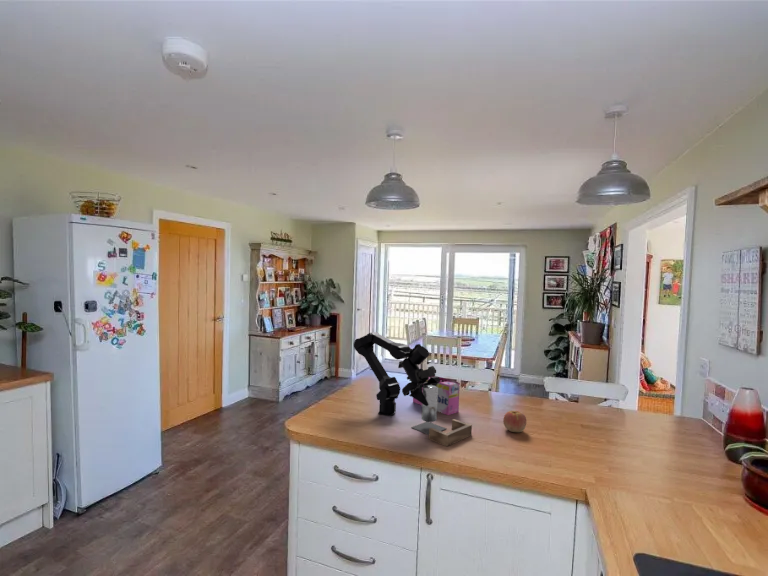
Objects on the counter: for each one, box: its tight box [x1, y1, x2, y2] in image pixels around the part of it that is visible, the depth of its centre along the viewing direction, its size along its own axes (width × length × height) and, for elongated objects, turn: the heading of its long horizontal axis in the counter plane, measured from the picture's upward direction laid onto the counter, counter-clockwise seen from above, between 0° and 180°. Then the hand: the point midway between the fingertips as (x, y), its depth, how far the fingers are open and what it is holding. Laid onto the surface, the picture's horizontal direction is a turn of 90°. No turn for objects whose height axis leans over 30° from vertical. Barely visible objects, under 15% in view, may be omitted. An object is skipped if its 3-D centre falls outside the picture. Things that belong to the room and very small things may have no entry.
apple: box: [502, 410, 527, 433], centre depth 162 cm, size 9×9×8 cm
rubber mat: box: [410, 421, 447, 436], centre depth 161 cm, size 10×10×1 cm
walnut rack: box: [428, 418, 473, 447], centre depth 154 cm, size 8×16×4 cm, turn 135°
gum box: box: [412, 375, 461, 416], centre depth 189 cm, size 24×8×14 cm, turn 41°
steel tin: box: [421, 385, 438, 423], centre depth 161 cm, size 6×6×13 cm
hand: (432, 403), depth 160 cm, fingers closed on steel tin, 6 cm apart
